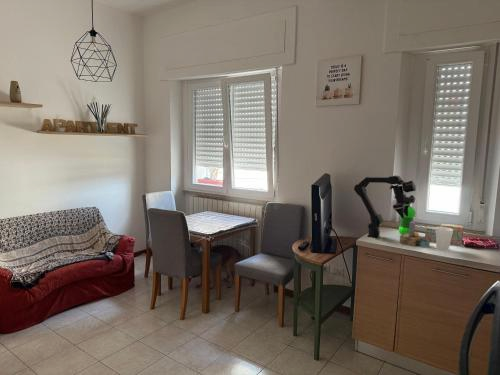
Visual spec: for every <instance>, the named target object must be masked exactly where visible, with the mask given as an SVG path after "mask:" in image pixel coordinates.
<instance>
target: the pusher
mask: <svg viewBox="0 0 500 375" xmlns="http://www.w3.org/2000/svg"><path fill="white" fill-rule="evenodd" d="M415 232H416V221H414V220H413V221H412V222H410V223H409V236H410V237H412V236H414V233H415Z"/></svg>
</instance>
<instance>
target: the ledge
mask: <svg viewBox="0 0 500 375" xmlns="http://www.w3.org/2000/svg"><path fill="white" fill-rule="evenodd" d="M423 239H425V235H419V236H418V237H415V236H412V237H410V236H409V234H407V233H404V234H402V235H401V234H400V236H399V244H401V245H408V246H413V247H416V246H417V245H419V241H422V240H423Z"/></svg>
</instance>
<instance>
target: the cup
mask: <svg viewBox="0 0 500 375" xmlns="http://www.w3.org/2000/svg"><path fill="white" fill-rule="evenodd" d="M430 244H431V242H430V241H429V240H425V238H424V239H423V240H422V241H419V244H418V246H419V247H422V248H429V247H430Z"/></svg>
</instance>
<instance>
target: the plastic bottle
mask: <svg viewBox="0 0 500 375" xmlns="http://www.w3.org/2000/svg"><path fill="white" fill-rule="evenodd" d="M408 205H410V206H409V208H408V216H406V215H405V213H404V218H402V217H401V216H400V223H399V228H398V233H399V234H400V236H401V235H402V234H404V233H407V234H409V223H410V222H412V221H414V218H415V217H416V211H415V209H414V208H413V207H412V206H411V204H408Z"/></svg>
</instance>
